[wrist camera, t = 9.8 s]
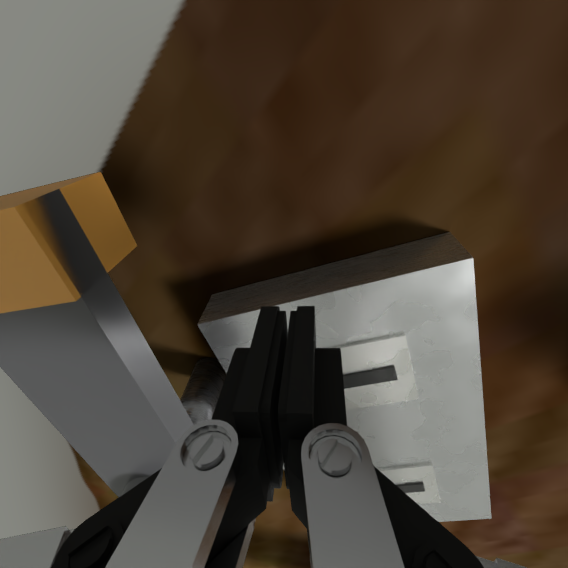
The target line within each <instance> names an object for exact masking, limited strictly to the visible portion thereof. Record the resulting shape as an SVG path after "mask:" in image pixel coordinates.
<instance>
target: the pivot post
mask: <svg viewBox="0 0 568 568" xmlns="http://www.w3.org/2000/svg"><path fill="white" fill-rule="evenodd" d="M225 377H226V372H225V370H224V368H223V367H222V365H221V363H220V362H219V360H217V359H214V358H203V359H200V360H199V361H197V363H196V365H195V367H194V369H193V372H192V374H191V376H190V379H189V381H188V383H187V386H186V388H185V390H184V393H183V395H182V397H181V400H180V401H181V403H182V405H183V407H184V408H185V410H186V412H187V414H188V415H189V417H190V419H191V421H192V422H193V424H194V425H195V424H197V423H199V422H202V421H206V420H211V419H212V416H213V413H214V410H215V407H216V404H217V401H218V398H219V395H220V392H221V389H222V386H223V383H224V380H225Z"/></svg>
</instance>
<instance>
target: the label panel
mask: <svg viewBox="0 0 568 568" xmlns="http://www.w3.org/2000/svg"><path fill="white" fill-rule="evenodd" d="M262 306H279V308H280V311H286V317H287V329H288V327H289V319H290V312H291V311H297V306H315V325H316V348H340V349H341V359H342V370H343V382H344V393H345V405H346V417H347V426H348V427H350V428H352V429H353V430H355V431H356V432H358V434H359V435H360V436H361V437H362V438H363V439H364V441H365V443H366V445H367V447H368V449H369V452H370V456H371V459H372V462H373V465H374V466H375V467H376V468H377V469H378V470H379V471H380V472H382V473H383V474H384V475H385V476H386V477H387V478H388V479H390V480H391V481H392V482H393V483H394V484H395V485H396V486H398V487H399V488H400V489H401V490H402V491H403V492H404V493H406V494H407V495H408V496H409V497H410V498H411V499H413V500H414V501H415V502H416V503H417V504H418V505H419V506H421V507H422V508H423V509H424V510H425V511H426V512H427V513H429V514H430V515H431V516H432V517H433V518H434V519H435V520H437V521H438V522H443V521H459V520H475V519H491V506H490V492H489V477H488V463H487V449H486V434H485V420H484V406H483V391H482V377H481V363H480V348H479V334H478V319H477V305H476V291H475V276H474V262H473V257H472V256H471V255H470V254H469V253H468V251H467V250H466V249H465V248H464V247H463V246H462V245H461V244H460V243H459V241H458V240H457V239H456V238H455V237H454V236H453V235H452V234H451V233H450V232H447V233H443V234H440V235H436V236H432V237H428V238H424V239H421V240H417V241H413V242H409V243H405V244H402V245H398V246H394V247H390V248H386V249H383V250H379V251H375V252H371V253H368V254H364V255H360V256H356V257H352V258H349V259H345V260H341V261H337V262H333V263H330V264H326V265H322V266H318V267H314V268H311V269H307V270H303V271H299V272H295V273H292V274H288V275H284V276H280V277H277V278H273V279H269V280H265V281H261V282H258V283H254V284H250V285H246V286H242V287H239V288H235V289H231V290H227V291H223V292H220V293H216V294H212V296H211V298H210V300H209V302H208V304H207V306H206V308H205V310H204V312H203V314H202V316H201V318H200V320H199V322H198V324H197V325H198V327H199V328H200V330H201V332H202V333H203V335H204V337H205V338H206V340H207V342H208V343H209V345H210V347H211V348H212V350H213V352H214V353H215V355H216V357H217V358H218V360H219V362H220V363H221V365H222V367H223V368H224V370H225V372H226V374H227V371H228V368H229V365H230V362H231V359H232V356H233V353H234V351H235V349H236V348H250V346H251V342H252V338H253V335H254V331H255V327H256V324H257V320H258V316H259V313H260V309H261V307H262ZM283 469H284V465H283Z"/></svg>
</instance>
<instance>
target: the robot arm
mask: <svg viewBox="0 0 568 568" xmlns="http://www.w3.org/2000/svg"><path fill="white" fill-rule="evenodd" d="M283 465H284V470H285V478H286V486H287V489H290V498H291V506H292V511H293V512H294V513H295V515H296V516H297V517H298V518H299V520H300V521H301V522H302V523H303V525H304V526H305V527H306V528H307V535H308V545H309V554H310V564H311V568H526V567H523V566H520V565H517V564H514V563H511V562H508V561H505V560H501V559H498V558H496V560H495V562H492V561H489V560H486V559H483V558H480V557H477V556H475V555H474V554H473V553H472V552H471V551H470V550H469V549H468V548H467V547H466V546H465V545H464V544H463V543H462V542H461V541H459V540H458V539H457V538H456V537H455V536H454V535H453V534H451V533H450V532H449V531H448V530H447V529H446V528H445V527H443V526H442V525H441V524H440V523H439V522H438V521H437V520H435V519H434V518H433V517H432V516H431V515H430V514H429V513H427V512H426V511H425V510H424V509H423V508H422V507H421V506H419V505H418V504H417V503H416V502H415V501H414V500H413V499H411V498H410V497H409V496H408V495H407V494H406V493H404V492H403V491H402V490H401V489H400V488H399V487H398V486H396V485H395V484H394V483H393V482H392V481H391V480H390V479H388V478H387V477H386V476H385V475H384V474H383V473H382V472H380V471H379V470H378V469H377V468H376V467H375V466H374V465H373V462H372V459H371V456H370V452H369V449H368V447H367V445H366V443H365V441H364V439H363V438H362V437H361V436H360V435H359V434H358V432H356V431H355V430H353V429H352V428H350V427H348V426H347V417H346V405H345V393H344V382H343V370H342V359H341V349H340V348H316V325H315V306H297V311H291V312H290V319H289V327H288V329H287V317H286V311H280V308H279V306H262V307H261V309H260V313H259V316H258V320H257V324H256V327H255V331H254V335H253V338H252V342H251V346H250V348H236V349H235V351H234V353H233V356H232V359H231V362H230V365H229V368H228V371H227V374H226V377H225V380H224V383H223V386H222V389H221V392H220V395H219V398H218V401H217V404H216V407H215V410H214V413H213V416H212V419H211V420H206V421H202V422H199V423H197V424H195V425H193V426H191V427H190V428H189V429H188V430H187V431H185V432H184V433H183V434H182V436H181V437H180V438H179V440H178V441H177V443H176V445H175V446H174V448H173V450H172V452H171V453H170V455H169V457H168V459H167V460H166V462H165V464H164V466H163V467H162V468H161V469H160V470H158V471H157V472H155V473H154V474H152V475H151V476H150V477H148V478H147V479H145V480H144V481H142V482H141V483H139V484H138V485H136V486H135V487H134V488H132V489H131V490H129V491H128V492H126V493H125V494H123V495H122V496H120V497H119V498H117V499H116V500H115V501H113V502H112V503H110V504H109V505H107V506H106V507H104V508H103V509H101V510H100V511H98V512H97V513H96V514H94V515H93V516H91V517H90V518H88V519H87V520H85V521H84V522H83V523H82V524H81V525H79V526H78V527H77V528H76V529H72V530H69V529H68V528H67V527H66V526H64V527H59V528H54V529H49V530H44V531H39V532H34V533H29V534H24V535H19V536H14V537H9V538H4V539H0V568H243V565H244V561H245V558H246V554H247V550H248V547H249V543H250V540H251V536H252V533H253V529H254V524H255V518H256V517H257V516H258V515H259V514H260V513H262V512H263V511H264V510H265V509H266V504H267V501H273V492H274V488H281V485H282V475H283Z"/></svg>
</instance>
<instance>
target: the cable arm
mask: <svg viewBox="0 0 568 568" xmlns="http://www.w3.org/2000/svg"><path fill="white" fill-rule="evenodd" d="M136 246H137V244H136V242H135V240H134V238H133V236H132V234H131V232H130V230H129V228H128V226H127V224H126V222H125V220H124V218H123V216H122V214H121V212H120V210H119V208H118V206H117V204H116V202H115V200H114V198H113V196H112V194H111V192H110V190H109V188H108V186H107V184H106V182H105V180H104V178H103V176H102V173H101V172H97V173H93V174H89V175H85V176H81V177H77V178H72V179H68V180H64V181H60V182H56V183H52V184H48V185H44V186H40V187H36V188H32V189H27V190H23V191H19V192H15V193H12V194H7V195H3V196H0V367H1V368H2V369H3V370H4V372H5V373H6V374H7V375H8V376H9V377H10V378H11V379H12V380H13V381H14V383H15V384H16V385H17V386H18V387H19V388H20V389H21V390H22V391H23V392H24V393H25V395H26V396H27V397H28V398H29V399H30V400H31V401H32V402H33V404H35V406H36V407H37V408H38V409H39V410H40V411H41V412H42V413H43V415H44V416H45V417H46V418H47V419H48V420H49V421H50V422H51V423H52V424H53V425H54V427H55V428H56V429H57V430H58V431H59V432H60V433H61V434H62V435H63V437H64V438H65V439H66V440H67V441H68V442H69V443H70V444H71V445H72V446H73V448H74V449H75V450H76V451H77V452H78V453H79V454H80V455H81V456H82V457H83V459H84V460H85V461H86V462H87V463H88V464H89V465H90V466H91V467H92V468H93V470H94V471H95V472H96V473H97V474H98V475H99V476H100V477H101V478H102V479H103V481H104V482H105V483H106V484H107V485H108V486H109V487H110V488H111V489H112V490H113V492H114V493H115V494H116V495H117V496H118V497H120V496H122V495H123V494H125V493H126V492H128V491H129V490H131V489H132V488H134V487H135V486H136V485H138V484H139V483H141V482H142V481H144V480H145V479H147V478H148V477H150V476H151V475H152V474H154V473H155V472H157V471H158V470H160V469H161V468H162V467H163V466H164V464H165V462H166V460H167V459H168V457H169V455H170V453H171V452H172V450H173V448H174V446H175V445H176V443H177V441H178V440H179V438H180V437H181V436H182V434H183V433H184V432H185V431H187V430H188V429H189V428H190V427H191V426H193V425H194V424H193V422H192V421H191V419H190V417H189V415H188V414H187V412H186V410H185V408H184V407H183V405H182V403H181V401H180V399H179V398H178V396H177V394H176V392H175V391H174V389H173V387H172V385H171V384H170V382H169V380H168V378H167V377H166V375H165V373H164V371H163V370H162V368H161V366H160V364H159V363H158V361H157V359H156V357H155V356H154V354H153V352H152V350H151V349H150V347H149V345H148V343H147V342H146V340H145V338H144V336H143V335H142V333H141V331H140V329H139V328H138V326H137V324H136V322H135V321H134V319H133V317H132V315H131V314H130V312H129V310H128V308H127V307H126V305H125V303H124V301H123V299H122V298H121V296H120V294H119V292H118V291H117V289H116V287H115V285H114V284H113V282H112V280H111V278H110V277H109V275H108V272H109V271H110V270H111V269H112V268H113V267H114V266H116V265H117V264H118V263H119V262H120V261H121V260H122V259H123V258H124V257H125V256H127V255H128V254H129V253H130V252H131V251H132V250H133V249H134V248H135V247H136Z"/></svg>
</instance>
